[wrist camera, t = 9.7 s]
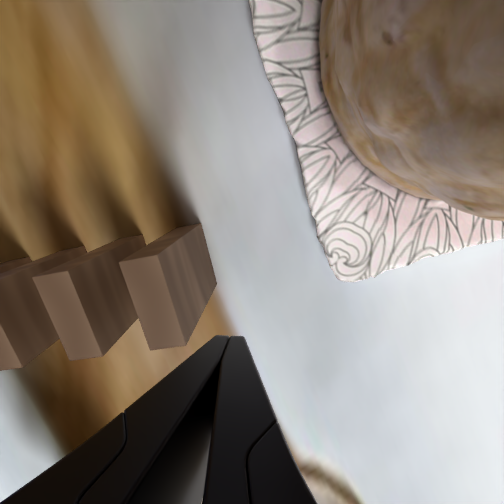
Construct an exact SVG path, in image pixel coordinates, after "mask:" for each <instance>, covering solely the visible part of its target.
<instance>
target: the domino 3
mask: <svg viewBox="0 0 504 504" xmlns="http://www.w3.org/2000/svg"><path fill="white" fill-rule="evenodd" d="M119 265H120V268H121V271H122V273H123V276H124V279H125V282H126V284H127V287H128V290H129V293H130V296H131V298H132V301H133V304H134V307H135V310H136V312H137V315H138V318H139V321H140V323H141V326H142V329H143V332H144V335H145V337H146V340H147V343H148V346H149V348H150V350H157V349H164V348H172V347H179V346H186V344H187V342H188V340H189V338H190V336H191V335H192V333H193V331H194V329H195V327H196V325H197V323H198V321H199V319H200V317H201V315H202V313H203V311H204V309H205V307H206V305H207V303H208V301H209V299H210V297H211V295H212V293H213V291H214V289H215V287H216V285H217V282H216V278H215V275H214V271H213V267H212V263H211V259H210V255H209V252H208V248H207V244H206V240H205V236H204V232H203V229H202V225H201V223H199V224H194V225H189V226H184V227H179V228H175V229H174V230H172V231H170V232H168V233H167V234H165V235H163V236H162V237H160V238H158V239H157V240H155V241H153V242H152V243H150V244H148V245H147V246H145V247H143V248H141V249H140V250H138V251H136V252H135V253H133V254H131V255H130V256H128V257H126V258H125V259H123V260H121V261H120V262H119Z"/></svg>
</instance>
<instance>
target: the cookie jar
mask: <svg viewBox="0 0 504 504" xmlns="http://www.w3.org/2000/svg"><path fill="white" fill-rule="evenodd" d="M249 4H250V8H251V12H252V19H253V30H254V36H255V39H256V43H257V46H258V50H259V53H260V56H261V59H262V61H263V64H264V68H265V71H266V75H267V78H268V80H269V82H270V84H271V85H272V87H273V90H274V92H275V94H276V96H277V98H278V100H279V102H280V105H281V107H282V109H283V112H284V116H285V120H286V124H287V126H288V129H289V131H290V133H291V135H292V136H293V138H294V139H295V141H296V145H297V152H298V158H299V161H300V165H301V168H302V174H303V180H304V185H305V190H306V196H307V200H308V204H309V208H310V211H311V213H312V216H313V217H314V218H315V221H316V227H317V238H318V240H319V242H320V243H321V244H322V246H323V247H324V252H325V255H326V257H327V258H328V262H329V265H330V267H331V269H332V270H333V272H334V274H335V276H336V278H338V279H339V280H341V281H344V282H357V281H360V280H363V279H368V278H369V277H374V278H375V277H376V276H377V275H379V274H381V273H383V272H385V271H387V270H392V269H396V268H399V267H403V266H407V265H410V264H412V263H414V262H417V261H418V260H420V259H422V258H426V257H434V256H437V255H441V254H447V253H451V252H454V251H457V250H460V249H462V248H464V247H470V246H475V245H479V244H484V243H490V242H494V241H497V240H500V239H502V238H504V0H249Z"/></svg>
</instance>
